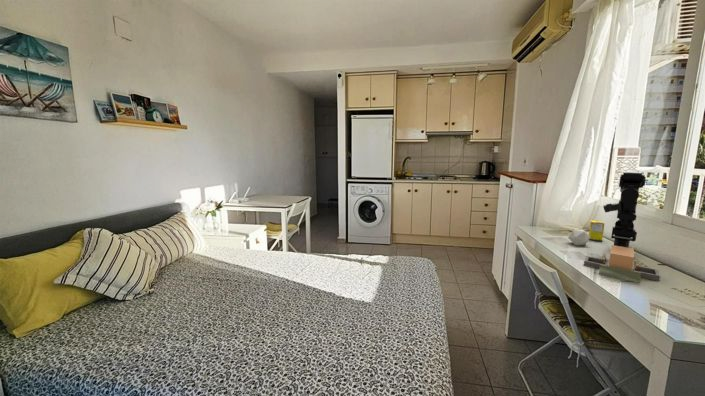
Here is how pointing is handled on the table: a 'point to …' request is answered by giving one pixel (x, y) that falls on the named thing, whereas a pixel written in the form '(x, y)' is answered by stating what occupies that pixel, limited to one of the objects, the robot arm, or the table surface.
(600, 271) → the small wooden bench
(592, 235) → the supplement box
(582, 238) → the die
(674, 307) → the table surface
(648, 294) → the table surface
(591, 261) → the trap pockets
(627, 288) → the table surface
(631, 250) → the orange tan rectangular block
